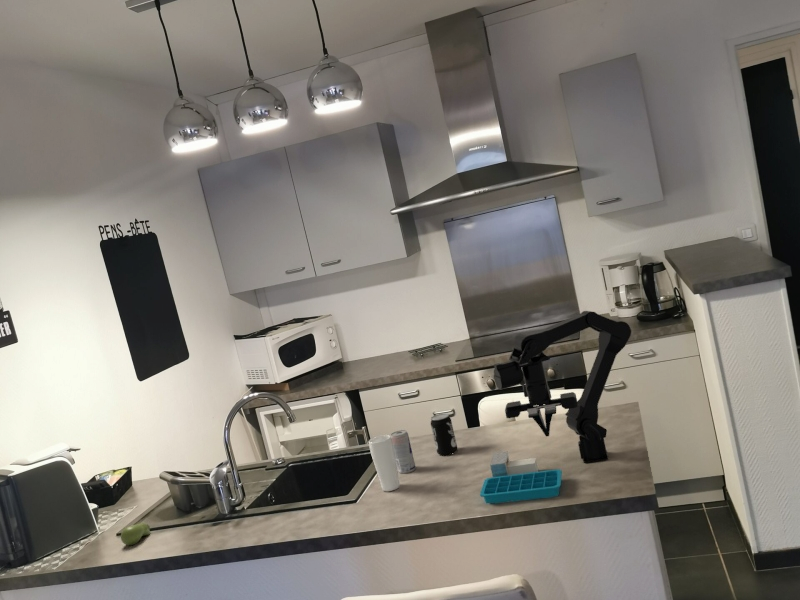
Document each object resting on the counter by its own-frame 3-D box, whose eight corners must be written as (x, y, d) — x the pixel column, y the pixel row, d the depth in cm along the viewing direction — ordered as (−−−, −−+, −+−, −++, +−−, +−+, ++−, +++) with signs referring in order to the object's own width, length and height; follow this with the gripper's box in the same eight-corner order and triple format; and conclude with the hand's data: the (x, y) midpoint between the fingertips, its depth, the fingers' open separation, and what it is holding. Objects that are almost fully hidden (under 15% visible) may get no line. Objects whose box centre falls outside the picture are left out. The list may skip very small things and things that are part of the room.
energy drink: (416, 465, 219) (408, 428, 217) (415, 471, 213) (406, 434, 212) (399, 468, 219) (391, 432, 218) (398, 475, 214) (389, 437, 213)
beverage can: (450, 456, 219) (442, 419, 218) (433, 456, 224) (425, 420, 222) (461, 448, 225) (453, 412, 224) (444, 448, 229) (436, 413, 228)
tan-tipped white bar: (538, 469, 193) (535, 457, 192) (537, 475, 189) (535, 463, 188) (500, 475, 195) (497, 463, 195) (499, 480, 191) (496, 468, 191)
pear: (115, 530, 206) (137, 520, 215) (118, 548, 205) (140, 537, 215) (131, 528, 204) (153, 518, 214) (134, 546, 204) (155, 536, 213)
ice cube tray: (562, 498, 172) (560, 486, 172) (481, 507, 177) (479, 496, 177) (564, 479, 183) (561, 468, 183) (487, 488, 188) (485, 478, 188)
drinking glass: (375, 493, 203) (363, 443, 201) (386, 483, 209) (375, 435, 207) (396, 493, 200) (384, 442, 198) (406, 483, 205) (395, 433, 204)
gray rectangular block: (511, 469, 197) (507, 451, 196) (509, 482, 188) (504, 463, 188) (497, 471, 198) (493, 453, 197) (494, 484, 189) (490, 465, 189)
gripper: (570, 366, 193) (582, 421, 194) (503, 378, 197) (515, 431, 199) (571, 376, 182) (583, 434, 183) (499, 388, 187) (512, 445, 188)
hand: (547, 435), depth 189 cm, fingers closed
